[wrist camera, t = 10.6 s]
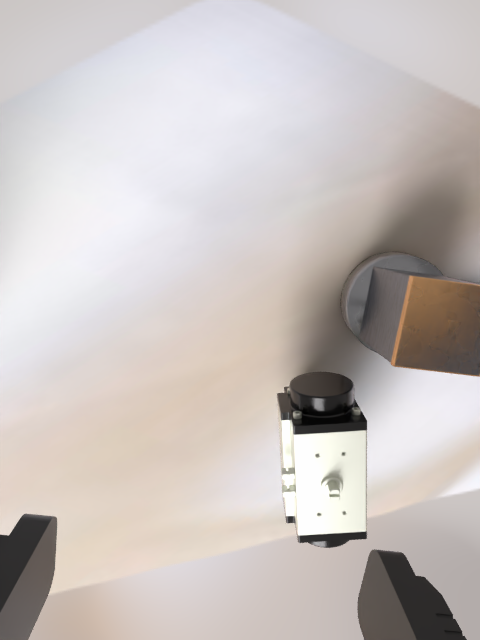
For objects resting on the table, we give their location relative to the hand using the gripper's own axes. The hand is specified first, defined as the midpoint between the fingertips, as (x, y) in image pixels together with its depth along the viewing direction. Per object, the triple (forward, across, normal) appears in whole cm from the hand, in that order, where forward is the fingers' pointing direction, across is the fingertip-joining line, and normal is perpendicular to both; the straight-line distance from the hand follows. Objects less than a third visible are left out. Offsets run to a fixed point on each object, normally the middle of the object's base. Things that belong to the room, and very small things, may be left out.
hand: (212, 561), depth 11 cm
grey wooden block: (+24, -14, -3) cm, 28 cm away
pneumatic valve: (+27, -8, +8) cm, 30 cm away
